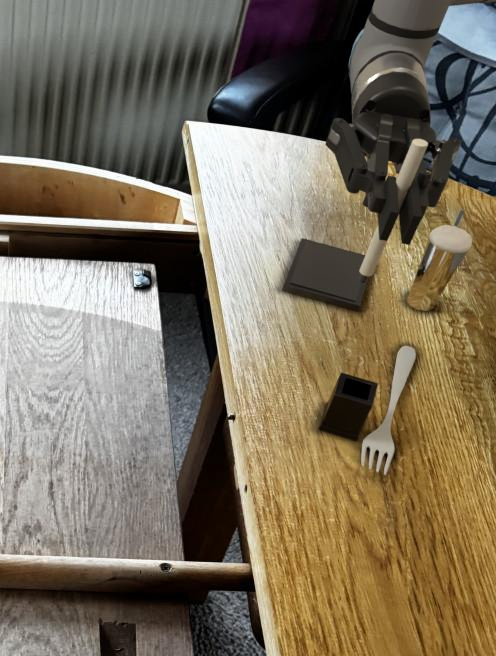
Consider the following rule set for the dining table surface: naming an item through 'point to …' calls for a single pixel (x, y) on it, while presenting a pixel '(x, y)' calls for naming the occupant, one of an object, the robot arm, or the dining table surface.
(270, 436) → the dining table surface
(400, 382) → the fork
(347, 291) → the tablet
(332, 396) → the pen stand
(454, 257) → the milkshake
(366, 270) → the stylus
